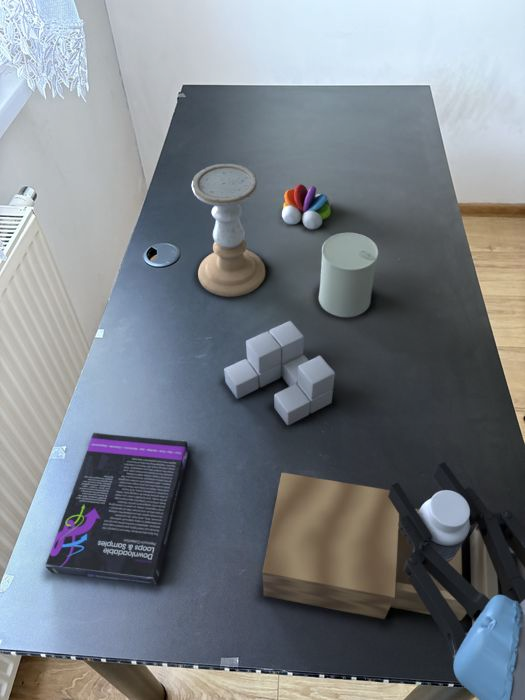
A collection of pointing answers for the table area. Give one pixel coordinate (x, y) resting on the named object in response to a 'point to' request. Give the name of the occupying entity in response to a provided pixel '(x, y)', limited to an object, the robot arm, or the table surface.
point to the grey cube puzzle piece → (283, 373)
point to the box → (120, 509)
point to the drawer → (480, 569)
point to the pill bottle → (446, 522)
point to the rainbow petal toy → (305, 207)
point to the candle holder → (228, 231)
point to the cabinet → (332, 546)
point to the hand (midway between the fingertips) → (416, 479)
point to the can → (347, 274)
